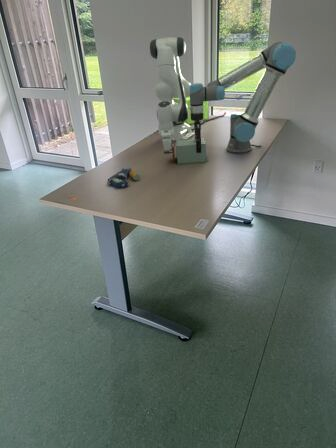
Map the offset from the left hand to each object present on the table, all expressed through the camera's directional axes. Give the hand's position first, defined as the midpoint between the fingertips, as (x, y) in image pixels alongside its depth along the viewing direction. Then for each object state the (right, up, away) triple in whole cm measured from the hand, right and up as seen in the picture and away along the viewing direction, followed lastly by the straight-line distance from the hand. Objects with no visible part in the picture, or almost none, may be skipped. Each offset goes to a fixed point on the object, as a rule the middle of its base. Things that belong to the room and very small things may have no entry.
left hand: (168, 153), depth 205 cm
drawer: (+9, -3, +2) cm, 9 cm away
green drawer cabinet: (+15, -4, +2) cm, 15 cm away
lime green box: (+19, +46, +83) cm, 97 cm away
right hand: (+18, +2, -1) cm, 19 cm away
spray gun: (-24, -19, -18) cm, 36 cm away
